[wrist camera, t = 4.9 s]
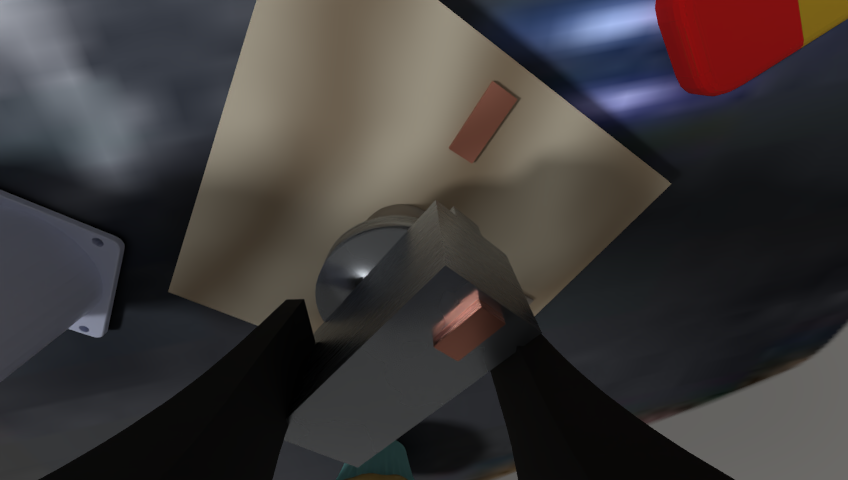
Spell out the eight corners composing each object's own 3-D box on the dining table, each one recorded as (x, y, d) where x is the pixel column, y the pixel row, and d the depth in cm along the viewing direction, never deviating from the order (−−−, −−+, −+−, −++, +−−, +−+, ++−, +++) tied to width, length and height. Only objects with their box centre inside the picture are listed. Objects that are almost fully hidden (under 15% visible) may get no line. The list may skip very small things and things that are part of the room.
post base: (185, 275, 18) (124, 334, 15) (305, -95, 11) (246, -178, 7) (448, 378, 24) (454, 443, 20) (650, 173, 16) (726, 211, 12)
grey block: (397, 366, 16) (390, 489, 11) (283, 306, 14) (219, 428, 9) (523, 257, 13) (581, 366, 8) (401, 159, 11) (392, 236, 6)
